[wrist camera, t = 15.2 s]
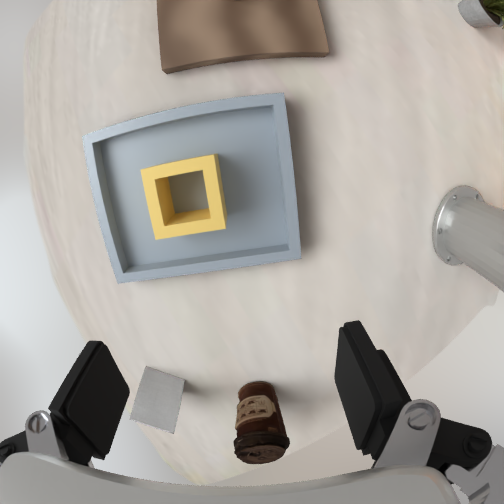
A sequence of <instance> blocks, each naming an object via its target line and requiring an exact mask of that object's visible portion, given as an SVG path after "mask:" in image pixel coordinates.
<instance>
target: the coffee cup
mask: <svg viewBox="0 0 504 504" xmlns="http://www.w3.org/2000/svg"><path fill="white" fill-rule="evenodd" d="M238 398H239V400H240V402H239V404H238V405H237V418H236V425H235V429H236V430H237V438H236V439H235V440H234V447H235V451H234V452H235V454H236V455H237V458H239V459H240V460H242V461H243V462H246V463H247V464H264V463H269V462H273V461H276V460H278V459H279V458H281V457H282V456H283V455H284V453H285V451H286V449H287V448H288V447H289V444H290V441H289V438H288V437H287V434H286V430H285V426H284V423H283V418H282V415H281V411H280V408H279V404H278V399H277V396H276V393H275V390H274V388H273V386H272V385H271V384H269V383H266V382H252V383H248V384H246V385H244V386H243V387H242V388H241V389H240V390H239V392H238Z"/></svg>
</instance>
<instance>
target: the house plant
mask: <svg viewBox="0 0 504 504" xmlns="http://www.w3.org/2000/svg"><path fill="white" fill-rule="evenodd" d="M458 8H459V11H460V13H461V15H462V17H463V18H464V19H465V21H466V22H467V23H468V24H469V25H471V26H473V27H502V26H503V24H504V0H462V1H461V2H460V3H459V4H458ZM502 14H503V15H502ZM503 28H504V26H503ZM503 28H502V29H503Z"/></svg>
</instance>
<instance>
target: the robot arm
mask: <svg viewBox="0 0 504 504" xmlns="http://www.w3.org/2000/svg"><path fill="white" fill-rule="evenodd" d="M433 244H434V248H435V251H436V253H437V255H438V256H439V258H440V259H441V260H442V261H444V262H445V263H447V264H450V265H459V264H462V263H465V264H466V265H467V266H469V267H470V268H472V269H473V270H475V271H476V272H477V273H479V274H480V275H482V276H483V277H484V278H486V279H487V280H488V281H490V282H491V283H493V284H494V285H495V286H496V287H498V288H499V289H500V290H502V291H503V292H504V210H502V209H499V208H497V207H494V206H492V205H489V204H487V203H484V200H483V198H482V196H481V195H480V193H479V192H478V191H477V190H476V189H474V188H472V187H469V186H459V187H456V188H454V189H453V190H451V191H450V192H449V193H448V194H447V195H446V196H445V198H444V199H443V200H442V202H441V204H440V206H439V208H438V211H437V213H436V216H435V220H434V225H433ZM335 383H336V386H337V389H338V392H339V395H340V398H341V401H342V405H343V408H344V411H345V414H346V417H347V420H348V423H349V427H350V430H351V433H352V436H353V439H354V443H355V446H356V448H357V450H360V449H361V450H362V453H363V455H367V454H371V456H372V459H374V460H375V462H374V464H373V466H372V467H371V469H368V470H362V471H357V472H352V473H347V474H342V475H338V476H332V477H327V478H322V479H315V480H309V481H302V482H294V483H286V484H276V485H263V486H240V487H217V486H194V485H182V484H172V483H163V482H156V481H150V480H144V479H138V478H133V477H127V476H123V475H118V474H114V473H110V472H106V471H102V470H98V469H95V468H94V466H93V464H92V461H91V457H92V456H93V457H94V458H98V459H102V460H104V459H105V456H106V455H107V454H108V453H109V451H110V448H111V445H112V442H113V439H114V436H115V433H116V430H117V427H118V424H119V421H120V419H121V416H122V413H123V410H124V408H125V405H126V402H127V399H128V397H129V393H130V391H129V387H128V385H127V383H126V381H125V380H124V378H123V376H122V374H121V372H120V371H119V369H118V367H117V365H116V363H115V361H114V359H113V357H112V355H111V353H110V351H109V349H108V347H107V346H106V345H104V343H103V342H102V341H89V342H88V343H87V344H86V346H85V347H84V349H83V350H82V352H81V354H80V355H79V357H78V358H77V360H76V362H75V363H74V365H73V366H72V368H71V370H70V372H69V373H68V375H67V376H66V378H65V380H64V381H63V383H62V385H61V386H60V388H59V390H58V392H57V393H56V395H55V397H54V399H53V400H52V402H51V404H50V406H49V408H48V409H49V410H50V411H51V413H50V415H49V414H48V413H47V412H45V411H36V412H34V413H32V414H31V415H30V416H29V417H28V419H27V421H26V424H25V431H23V432H21V433H19V434H17V435H14V436H12V437H10V438H8V439H5V440H4V441H2V442H1V443H0V504H460V501H459V499H458V497H457V495H456V493H455V491H454V489H453V487H452V486H451V484H454V483H455V484H456V485H458V486H459V487H461V489H460V490H461V491H462V492H464V493H465V494H466V495H467V496H468V499H469V504H504V448H503V447H501V446H500V445H498V444H497V445H496V446H494V445H492V440H491V437H490V435H489V434H488V433H487V432H486V431H485V430H483V429H480V428H477V427H473V426H469V425H465V424H462V423H458V422H454V421H451V420H448V419H444V418H441V414H440V410H439V409H438V407H437V406H436V405H435V404H434V403H432V402H430V401H428V400H423V399H418V400H413V401H412V400H411V399H410V396H409V395H408V392H407V391H406V389H405V387H404V385H403V383H402V381H401V380H400V378H399V376H398V374H397V372H396V371H395V369H394V367H393V365H392V363H391V362H390V360H389V358H388V356H387V355H386V353H385V352H384V351H383V350H382V349H381V350H376V348H375V346H374V345H373V343H372V341H371V339H370V337H369V336H368V334H367V332H366V330H365V329H364V327H363V325H362V324H361V322H360V321H359V320H358V321H352V322H346V323H344V327H340V329H339V338H338V349H337V358H336V367H335Z"/></svg>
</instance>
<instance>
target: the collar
mask: <svg viewBox="0 0 504 504" xmlns="http://www.w3.org/2000/svg"><path fill="white" fill-rule="evenodd" d="M199 170H203V175H204V181H205V187H206V193H207V199H208V205H209V208H205V209H199V210H193V211H187V212H182V213H176V214H175V211H174V206H173V202H172V196H171V191H170V186H169V181H168V176H173V175H178V174H183V173H188V172H193V171H199ZM141 176H142V181H143V186H144V191H145V196H146V201H147V205H148V210H149V214H150V219H151V223H152V227H153V231H154V235H155V239H156V240H158V239H164V238H170V237H176V236H183V235H189V234H195V233H202V232H208V231H215V230H221V229H226V223H227V210H226V204H225V198H224V191H223V185H222V179H221V172H220V166H219V159H218V153H216V154H210V155H205V156H199V157H194V158H188V159H183V160H178V161H173V162H169V163H164V164H159V165H155V166H151V167H148V168H144V169H141Z"/></svg>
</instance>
